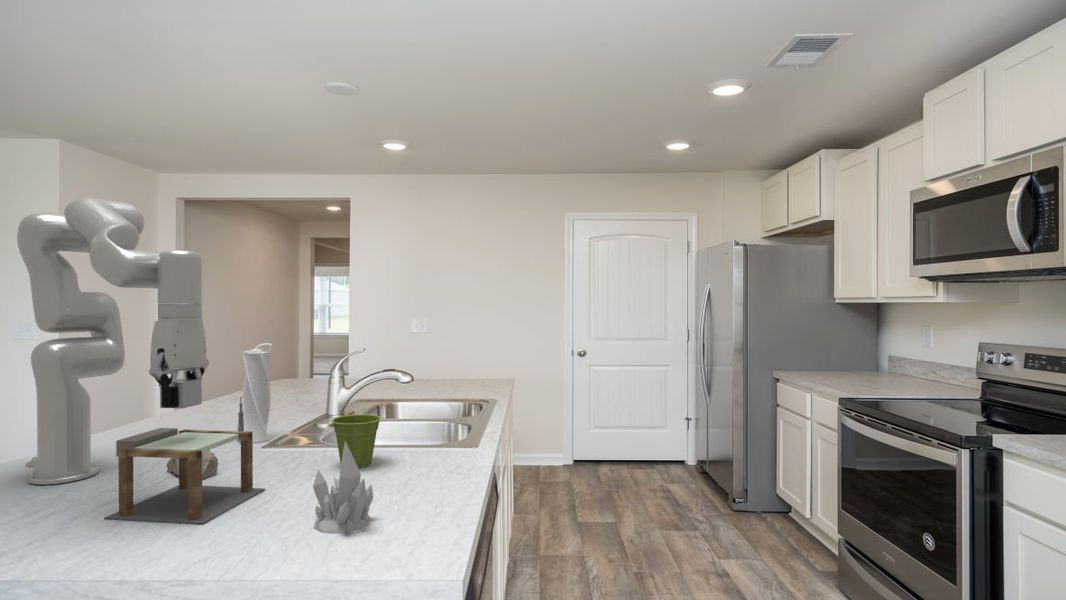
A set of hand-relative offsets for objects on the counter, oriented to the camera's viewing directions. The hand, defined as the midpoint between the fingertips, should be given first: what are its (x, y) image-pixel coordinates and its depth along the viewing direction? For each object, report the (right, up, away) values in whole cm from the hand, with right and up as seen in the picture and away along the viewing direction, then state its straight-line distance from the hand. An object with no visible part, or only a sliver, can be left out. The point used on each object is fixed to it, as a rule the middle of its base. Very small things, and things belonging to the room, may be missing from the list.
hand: (181, 403), depth 115 cm
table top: (+2, -20, 0) cm, 20 cm away
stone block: (0, 0, 0) cm, 0 cm away
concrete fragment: (-9, -20, +20) cm, 30 cm away
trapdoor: (-1, -9, 0) cm, 9 cm away
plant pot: (+27, -20, +27) cm, 43 cm away
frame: (+2, -20, 0) cm, 20 cm away
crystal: (+35, -20, -10) cm, 41 cm away
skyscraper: (-9, -20, +51) cm, 56 cm away
